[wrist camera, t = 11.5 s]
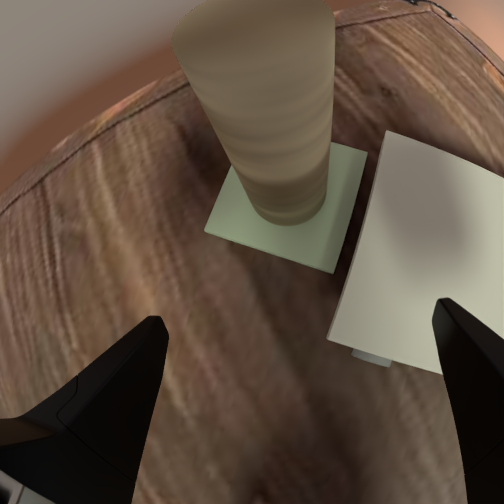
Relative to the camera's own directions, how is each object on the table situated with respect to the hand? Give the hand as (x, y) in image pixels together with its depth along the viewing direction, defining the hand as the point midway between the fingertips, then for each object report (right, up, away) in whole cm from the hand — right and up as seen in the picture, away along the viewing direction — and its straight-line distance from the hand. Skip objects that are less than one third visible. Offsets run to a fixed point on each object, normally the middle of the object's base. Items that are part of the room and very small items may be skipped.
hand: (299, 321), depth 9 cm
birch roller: (+1, +6, +11) cm, 12 cm away
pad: (+1, +6, +11) cm, 13 cm away
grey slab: (+12, 0, +8) cm, 14 cm away
